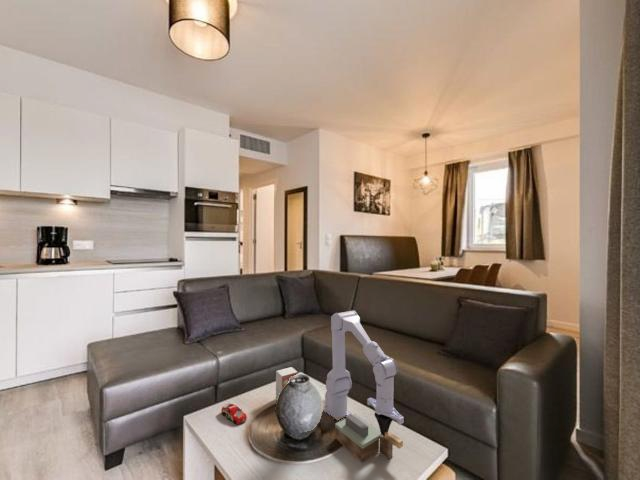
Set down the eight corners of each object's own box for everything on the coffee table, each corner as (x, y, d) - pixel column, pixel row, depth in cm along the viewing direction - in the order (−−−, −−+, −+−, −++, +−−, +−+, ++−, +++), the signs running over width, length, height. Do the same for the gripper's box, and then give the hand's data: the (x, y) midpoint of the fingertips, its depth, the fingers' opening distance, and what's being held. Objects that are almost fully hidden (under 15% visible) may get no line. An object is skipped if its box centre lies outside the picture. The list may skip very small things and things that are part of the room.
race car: (249, 421, 122) (249, 411, 121) (237, 427, 117) (237, 417, 117) (231, 408, 130) (231, 399, 130) (219, 413, 126) (219, 404, 126)
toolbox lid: (335, 429, 111) (335, 415, 111) (355, 419, 117) (355, 406, 117) (362, 451, 100) (362, 436, 100) (382, 439, 106) (383, 424, 106)
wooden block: (384, 438, 103) (384, 432, 103) (388, 436, 104) (388, 430, 104) (399, 448, 98) (399, 442, 98) (402, 446, 99) (402, 440, 99)
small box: (281, 405, 132) (281, 376, 132) (275, 398, 137) (275, 370, 137) (297, 400, 136) (298, 371, 136) (291, 393, 142) (291, 366, 141)
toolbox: (335, 438, 111) (335, 423, 111) (354, 428, 117) (355, 413, 117) (371, 470, 97) (372, 452, 96) (392, 456, 103) (392, 440, 102)
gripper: (361, 389, 107) (361, 427, 107) (394, 409, 95) (393, 451, 96) (375, 383, 111) (374, 420, 112) (408, 401, 100) (407, 442, 100)
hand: (384, 433), depth 104 cm, fingers closed
